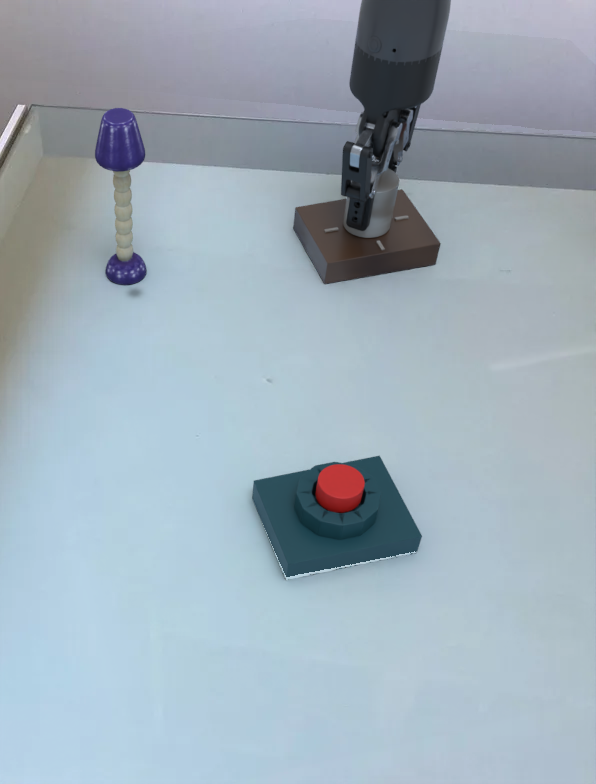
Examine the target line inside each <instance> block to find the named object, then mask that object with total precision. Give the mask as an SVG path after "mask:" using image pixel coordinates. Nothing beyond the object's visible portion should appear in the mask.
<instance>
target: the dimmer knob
mask: <svg viewBox="0 0 596 784" xmlns="http://www.w3.org/2000/svg"><path fill="white" fill-rule="evenodd" d="M371 177H372V173H371ZM399 186H400V177H399V175H398V174H397V172H396V173H395V172H394V171H393V170H391V169H389V168H388V169H387V170H386V172H384V173H382V174H381V175H380V178H379V182H378V185H377V189H376V194H375V196H374V202H373V207H372V213H371V218H370V224H369V226H368V227H367V229H366V230H365V231H360V230H357V229H354V228H351V227H348V226H347V224H346V220H347V213H348V207H349V201H350V198H349V197H346V199H347V200H346V206H345V213H344V219H343V225H344V228H345V229H346V230H347V231H348V232H349V233H351V234H353V235H355V236H358V237H364V238H374V237H379V236H382V235H384V234H385V233H387V232H388V230H389V229H390V226H391V221H392V216H393V211H394V206H395V201H396V196H397V191H398V190H399Z"/></svg>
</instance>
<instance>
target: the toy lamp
mask: <svg viewBox="0 0 596 784" xmlns="http://www.w3.org/2000/svg"><path fill="white" fill-rule="evenodd" d="M94 158H95V161H96V163H97V164H98V165H99V166H100V167H102V169H104V170H107V171H111V172H112V173H113V176H112V185H113V188H114V191H113V199H114V203H115V204H114V209H113V210H114V215H115V219H114V229H115V231H116V232H115V242H116V248H115V253H114V254H113V255H112V256H110V258H109V259H108V260H107V263H106V265H105V275H106V277H107V279H108V280H109V281H110V282H112V283H114V284H117V285H124V286H126V285H127V286H128V285H129V286H130V285H133V284H136V283H139V282H141V281H142V280H143V279H144V278H145V277H146V275H147V266H146V262H145V261H144V259H143V257H142V256H141V255H140V254H138V253H136V252H135V251H134V246H133V242H134V241H133V240H134V236H133V231H132V230H133V225H134V222H133V221H134V220H133V218H132V215H133V204H132V202H131V201H132V198H133V193H132V189H131V186H132V176H131V174H130V172H131V170H134V169H136V168H138V167H140V166H141V165H142V164H143V162H144V161H145V159H146V149H145V144H144V140H143V138H142V134H141V131H140V128H139V124H138V121H137V118H136V116H135V114H134V113H133V112H132V110H129V109H128V108H124V107H114V108H110V109H108V110H106V111H105V112H104V113H103V115H102V116H101V119H100V124H99V129H98V135H97V139H96V143H95V149H94Z"/></svg>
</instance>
